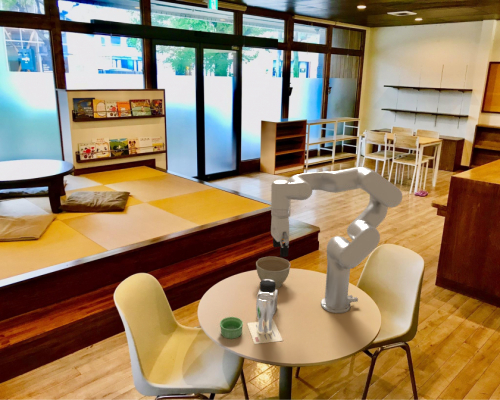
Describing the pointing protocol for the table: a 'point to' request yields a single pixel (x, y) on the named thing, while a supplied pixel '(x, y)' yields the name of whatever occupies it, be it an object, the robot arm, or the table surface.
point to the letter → (260, 338)
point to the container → (269, 289)
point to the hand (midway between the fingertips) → (280, 251)
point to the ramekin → (231, 327)
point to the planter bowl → (273, 269)
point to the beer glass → (265, 312)
